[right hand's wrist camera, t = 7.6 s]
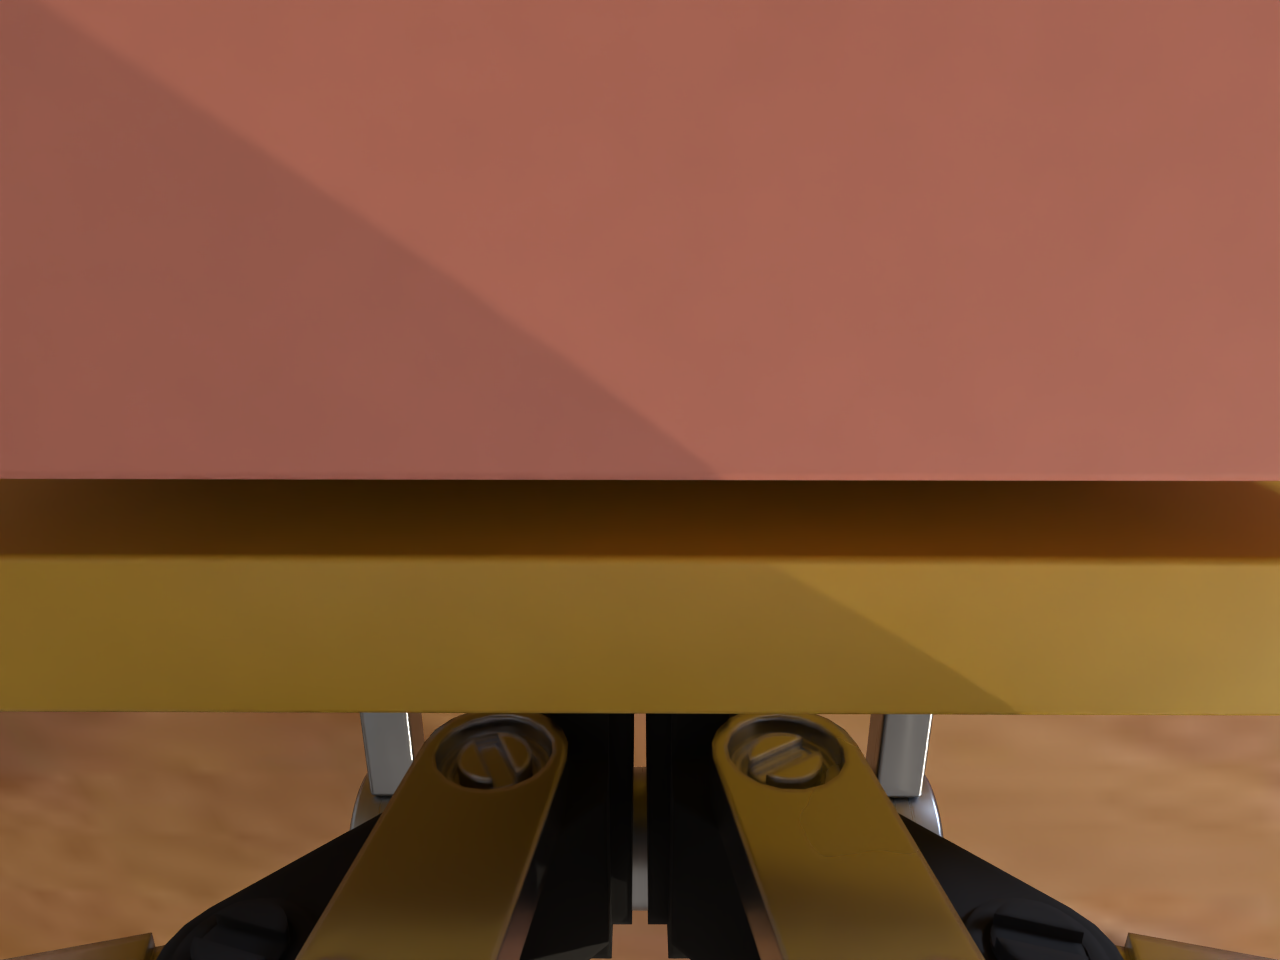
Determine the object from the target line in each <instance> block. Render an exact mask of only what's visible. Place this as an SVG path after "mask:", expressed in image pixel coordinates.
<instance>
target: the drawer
mask: <svg viewBox="0 0 1280 960" xmlns="http://www.w3.org/2000/svg"><path fill="white" fill-rule="evenodd" d="M0 711H27V712H350V713H360V719H361V726H362V733H363V741H364V748H365V756H366V763H367V771H368V773H367V774H366V776H365V778H364V780H363V782H362V784H361V786H360V789H359V792H358V795H357V798H356V801H355V805H354V809H353V813H352V818H351V824H350V830H352V829H354V828H355V827H357V826H359V825H361V824H363V823H364V822H366V821H368V820H370V819H372V818H373V817H375V816H377V815H379V814H381V813H383V811H384V809H385V807H386V806H387V804H388V802H389V801H390V799H391V797H392V796H393V794H394V792H395V791H396V789H397V787H398V786H399V784H400V782H401V781H402V779H403V777H404V776H405V774H406V772H407V771H408V769H409V767H410V765H411V764H412V762H413V760H414V759H415V757H416V755H417V754H418V752H419V750H420V749H421V747H422V745H423V744H424V734H423V724H422V715H421V713H674V714H871V718H870V727H869V736H868V745H867V754H866V760H867V762H868V764H869V765H870V767H871V769H872V771H873V772H874V774H875V776H876V777H877V779H878V781H879V782H880V784H881V786H882V787H883V789H884V791H885V792H886V794H887V796H888V797H889V799H890V801H891V802H892V804H893V806H894V807H895V809H896V811H897V812H898V813H899V814H901V815H903V816H905V817H907V818H908V819H910V820H912V821H914V822H916V823H917V824H919V825H921V826H923V827H925V828H926V829H928V830H930V831H932V832H934V833H936V834H937V835H939V836H941V837H943V831H942V824H941V819H940V814H939V809H938V806H937V802H936V799H935V796H934V793H933V790H932V788H931V785H930V783H929V781H928V779H927V777H926V776H925V768H926V761H927V754H928V747H929V740H930V732H931V725H932V718H933V714H997V715H1280V481H975V480H378V479H0ZM632 910H635V911H648V869H647V772H646V767H634V775H633V872H632Z"/></svg>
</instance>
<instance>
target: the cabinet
mask: <svg viewBox="0 0 1280 960" xmlns="http://www.w3.org/2000/svg"><path fill="white" fill-rule="evenodd" d="M0 479H378V480H975V481H1280V0H0Z"/></svg>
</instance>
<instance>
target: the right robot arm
mask: <svg viewBox="0 0 1280 960" xmlns="http://www.w3.org/2000/svg"><path fill="white" fill-rule="evenodd" d="M646 772H647V869H648V924H667V930H668V958H689V959H690V960H1276V959H1271V958H1265V957H1260V956H1254V955H1249V954H1243V953H1238V952H1232V951H1227V950H1221V949H1216V948H1210V947H1205V946H1199V945H1194V944H1188V943H1183V942H1177V941H1172V940H1166V939H1161V938H1155V937H1150V936H1144V935H1139V934H1133V933H1128V936H1127V940H1126V943H1125V947H1122V946H1117V945H1114V944H1113V943H1112V942H1111V941H1110V940H1109V939H1108V938H1107V937H1106V936H1105V934H1104V933H1103V932H1102V931H1101V930H1100V929H1099V928H1098V927H1097V926H1096V925H1094V924H1093V923H1092V922H1090V921H1089V920H1087V919H1086V918H1084V917H1083V916H1081V915H1080V914H1078V913H1077V912H1075V911H1074V910H1072V909H1071V908H1069V907H1068V906H1066V905H1064V904H1062V903H1060V902H1059V901H1057V900H1055V899H1053V898H1051V897H1049V896H1048V895H1046V894H1044V893H1042V892H1040V891H1039V890H1037V889H1035V888H1033V887H1031V886H1030V885H1028V884H1026V883H1024V882H1022V881H1021V880H1019V879H1017V878H1015V877H1013V876H1011V875H1010V874H1008V873H1006V872H1004V871H1002V870H1001V869H999V868H997V867H995V866H993V865H992V864H990V863H988V862H986V861H984V860H983V859H981V858H979V857H977V856H975V855H973V854H972V853H970V852H968V851H966V850H964V849H963V848H961V847H959V846H957V845H955V844H954V843H952V842H950V841H948V840H946V839H945V838H943V837H941V836H939V835H937V834H936V833H934V832H932V831H930V830H928V829H926V828H925V827H923V826H921V825H919V824H917V823H916V822H914V821H912V820H910V819H908V818H907V817H905V816H903V815H901V814H899V813H898V812H897V811H896V809H895V807H894V806H893V804H892V802H891V801H890V799H889V797H888V796H887V794H886V792H885V791H884V789H883V787H882V786H881V784H880V782H879V781H878V779H877V777H876V776H875V774H874V772H873V771H872V769H871V767H870V765H869V764H868V762H867V760H866V759H865V757H864V755H863V754H862V752H861V750H860V749H859V747H858V745H857V744H856V742H855V741H854V740H853V739H852V738H851V737H850V735H849V734H848V733H847V732H846V731H845V730H844V729H843V728H841V727H840V726H838V725H837V724H835V723H834V722H832V721H831V720H829V719H827V718H825V717H822V716H819V715H817V714H674V713H646ZM633 775H634V713H466V714H463V715H461V716H458V717H455V718H453V719H451V720H449V721H448V722H446V723H445V724H443V725H442V726H440V727H439V728H437V729H436V730H435V731H434V732H433V733H432V734H431V735H430V737H429V738H428V739H427V740H426V741H425V742H424V744H423V745H422V747H421V749H420V750H419V752H418V754H417V755H416V757H415V759H414V760H413V762H412V764H411V765H410V767H409V769H408V771H407V772H406V774H405V776H404V777H403V779H402V781H401V782H400V784H399V786H398V787H397V789H396V791H395V792H394V794H393V796H392V797H391V799H390V801H389V802H388V804H387V806H386V807H385V809H384V811H383V813H381V814H379V815H377V816H375V817H373V818H372V819H370V820H368V821H366V822H364V823H363V824H361V825H359V826H357V827H355V828H354V829H352V830H350V831H348V832H346V833H345V834H343V835H341V836H339V837H337V838H335V839H334V840H332V841H330V842H328V843H326V844H325V845H323V846H321V847H319V848H317V849H316V850H314V851H312V852H310V853H308V854H307V855H305V856H303V857H301V858H299V859H297V860H296V861H294V862H292V863H290V864H288V865H287V866H285V867H283V868H281V869H279V870H278V871H276V872H274V873H272V874H270V875H269V876H267V877H265V878H263V879H261V880H260V881H258V882H256V883H254V884H252V885H250V886H249V887H247V888H245V889H243V890H241V891H240V892H238V893H236V894H234V895H232V896H231V897H229V898H227V899H225V900H223V901H222V902H220V903H218V904H216V905H214V906H212V907H211V908H209V909H208V910H206V911H205V912H203V913H202V914H200V915H199V916H197V917H196V918H194V919H193V920H191V921H190V922H189V923H187V924H186V925H184V926H183V927H182V928H181V929H180V930H179V931H178V932H177V933H176V935H175V936H174V937H173V938H172V939H171V940H170V941H169V942H168V943H167V944H166V945H163V946H158V947H155V943H154V939H153V936H152V933H147V934H141V935H136V936H130V937H125V938H119V939H114V940H108V941H103V942H97V943H92V944H86V945H81V946H75V947H70V948H64V949H59V950H53V951H48V952H42V953H37V954H31V955H26V956H20V957H15V958H9V959H4V960H590V959H591V958H612V931H613V924H632V872H633Z"/></svg>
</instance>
